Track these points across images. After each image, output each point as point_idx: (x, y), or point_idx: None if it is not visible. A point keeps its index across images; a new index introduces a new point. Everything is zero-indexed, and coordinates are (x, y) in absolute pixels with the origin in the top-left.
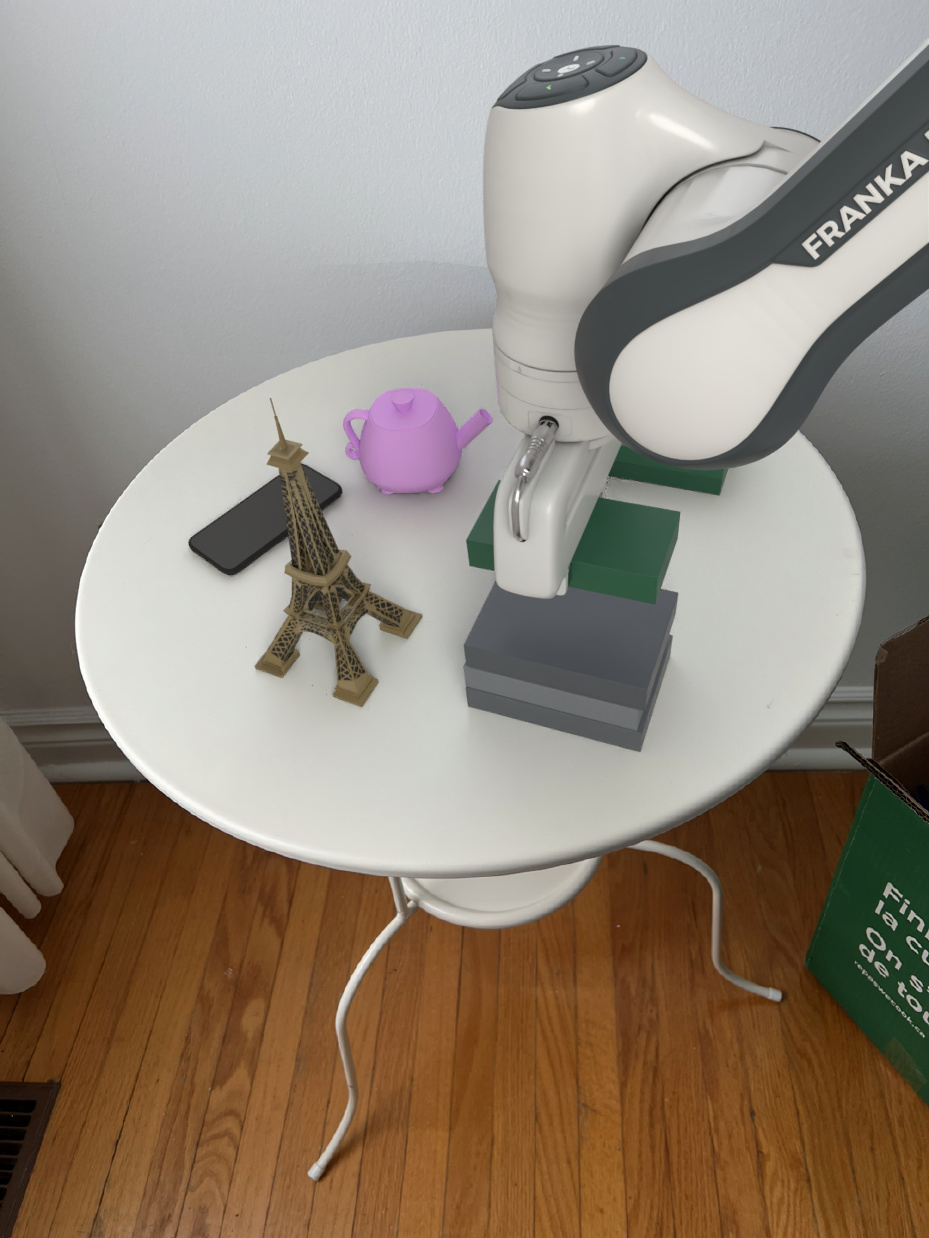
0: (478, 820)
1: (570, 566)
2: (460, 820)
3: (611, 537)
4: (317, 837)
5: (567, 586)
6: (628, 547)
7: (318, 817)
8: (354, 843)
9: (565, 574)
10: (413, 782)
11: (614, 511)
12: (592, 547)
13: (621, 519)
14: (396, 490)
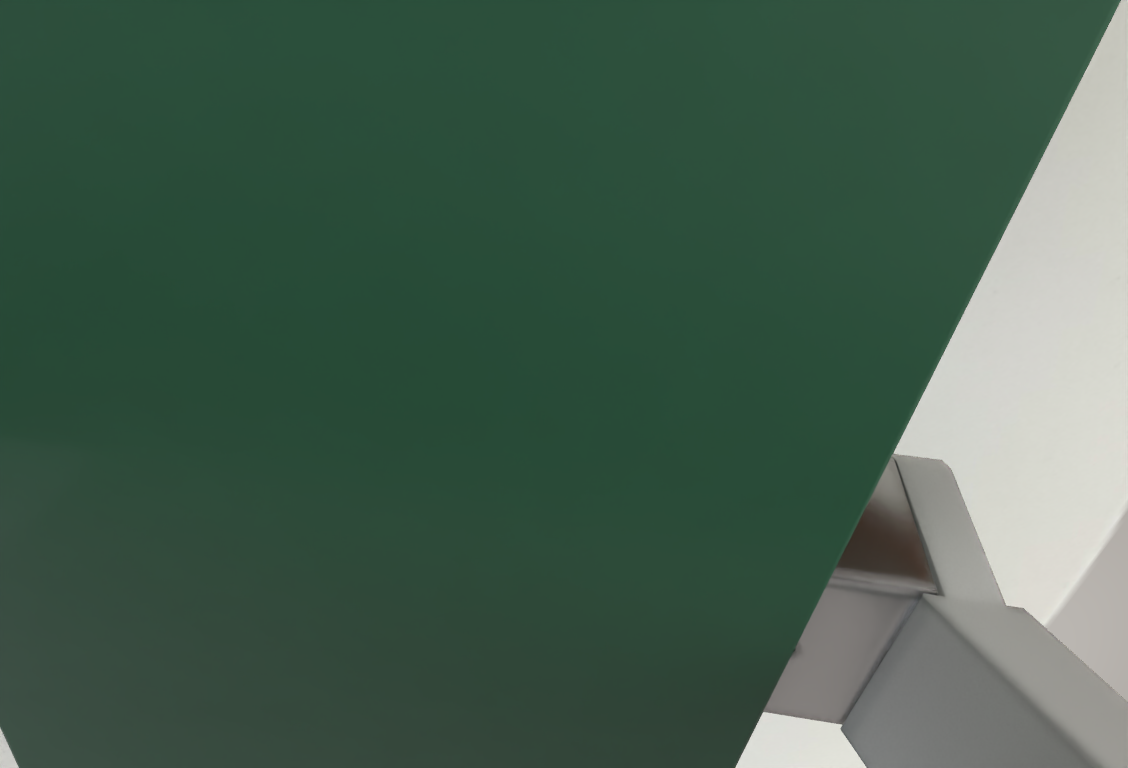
0: (1097, 201)
1: (861, 583)
2: (1088, 247)
3: (442, 328)
4: (1083, 524)
5: (922, 485)
6: (577, 120)
7: (1029, 532)
8: (1115, 459)
9: (1054, 659)
10: (947, 376)
11: (1, 328)
12: (625, 474)
13: (95, 248)
14: None
